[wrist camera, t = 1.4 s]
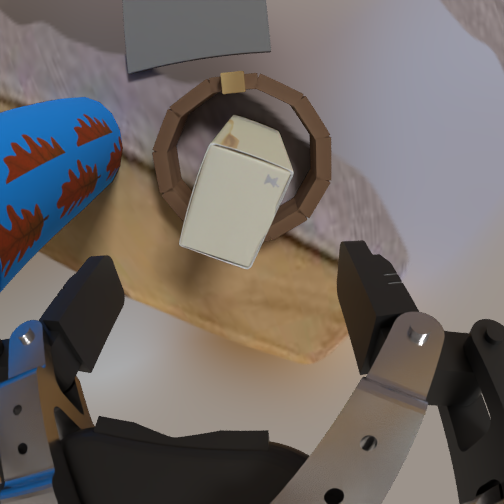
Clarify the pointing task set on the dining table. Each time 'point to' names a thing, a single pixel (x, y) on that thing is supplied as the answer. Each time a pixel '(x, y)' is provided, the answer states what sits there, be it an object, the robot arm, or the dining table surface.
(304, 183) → the ring
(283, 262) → the dining table surface
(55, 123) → the thermos
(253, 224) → the skincare box
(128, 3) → the rubber mat
